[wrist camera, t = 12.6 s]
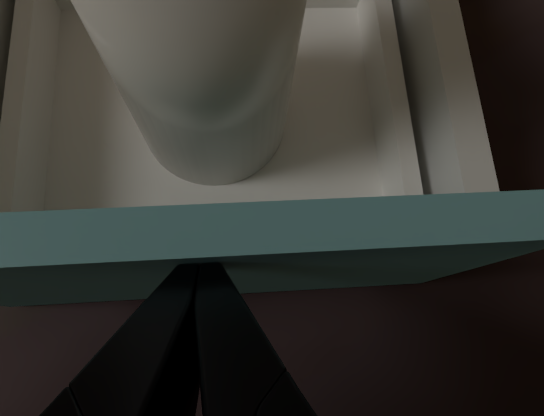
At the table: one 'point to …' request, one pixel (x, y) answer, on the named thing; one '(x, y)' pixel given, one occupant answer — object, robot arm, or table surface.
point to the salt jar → (201, 77)
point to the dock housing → (414, 95)
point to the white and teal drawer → (236, 196)
